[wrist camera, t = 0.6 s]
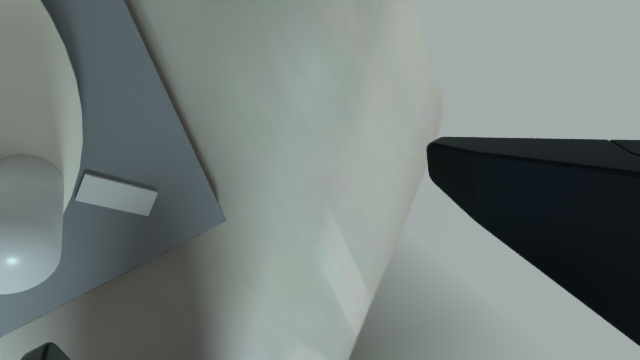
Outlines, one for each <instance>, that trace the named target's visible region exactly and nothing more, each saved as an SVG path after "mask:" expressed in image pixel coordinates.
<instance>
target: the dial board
mask: <svg viewBox="0 0 640 360" xmlns="http://www.w3.org/2000/svg"><path fill="white" fill-rule="evenodd" d="M41 1H42V2H43V4H44V6H45V7H46V9H47V10H48V12H49V13H50V15H51V17H52V19H53V21H54V23H55V26H56V28H57V30H58V32H59V34H60V36H61V38H62V40H63V42H64V44H65V46H66V49H67V52H68V55H69V58H70V61H71V64H72V67H73V70H74V73H75V76H76V80H77V85H78V91H79V96H80V102H81V107H82V131H83V145H82V153H81V161H80V169H79V173H78V176H77V180H76V183H75V186H74V190H73V193H72V196H71V199H70V201H69V203H68V205H67V207H66V209H65V211H64V213H63V227H62V249H61V258H60V262H59V264H58V266H57V268H56V269H55V271H54V272H53V273H52V274H51V275H50V276H49V277H48V278H47V279H46V280H45V281H43V282H42V283H40V284H39V285H37V286H35V287H33V288H31V289H28V290H25V291H22V292H18V293H12V294H0V337H1V336H3V335H5V334H7V333H9V332H11V331H13V330H15V329H17V328H19V327H21V326H23V325H25V324H27V323H28V322H30V321H32V320H34V319H36V318H38V317H40V316H42V315H44V314H46V313H48V312H50V311H52V310H54V309H56V308H57V307H59V306H61V305H63V304H65V303H67V302H69V301H71V300H73V299H75V298H77V297H79V296H81V295H83V294H85V293H86V292H88V291H90V290H92V289H94V288H96V287H98V286H100V285H102V284H104V283H106V282H108V281H110V280H112V279H114V278H115V277H117V276H119V275H121V274H123V273H125V272H127V271H129V270H131V269H133V268H135V267H137V266H139V265H141V264H143V263H144V262H146V261H148V260H150V259H152V258H154V257H156V256H158V255H160V254H162V253H164V252H166V251H168V250H170V249H171V248H173V247H175V246H177V245H179V244H181V243H183V242H185V241H187V240H189V239H191V238H193V237H195V236H197V235H199V234H200V233H202V232H204V231H206V230H208V229H210V228H212V227H214V226H216V225H218V224H220V223H222V222H224V221H226V219H225V217H224V215H223V212H222V210H221V208H220V206H219V204H218V202H217V199H216V197H215V195H214V193H213V191H212V189H211V187H210V184H209V182H208V180H207V178H206V176H205V174H204V171H203V169H202V167H201V165H200V163H199V161H198V159H197V156H196V154H195V152H194V150H193V148H192V146H191V143H190V141H189V139H188V137H187V135H186V133H185V131H184V128H183V126H182V124H181V122H180V120H179V118H178V115H177V113H176V111H175V109H174V107H173V105H172V103H171V100H170V98H169V96H168V94H167V92H166V90H165V87H164V85H163V83H162V81H161V79H160V77H159V75H158V72H157V70H156V68H155V66H154V64H153V62H152V59H151V57H150V55H149V53H148V51H147V49H146V47H145V44H144V42H143V40H142V38H141V36H140V34H139V31H138V29H137V27H136V25H135V23H134V21H133V19H132V16H131V14H130V12H129V10H128V8H127V6H126V3H125V1H124V0H41Z"/></svg>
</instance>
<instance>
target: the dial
mask: <svg viewBox="0 0 640 360" xmlns="http://www.w3.org/2000/svg"><path fill="white" fill-rule="evenodd" d="M82 145H83V131H82V107H81V102H80V96H79V91H78V85H77V80H76V76H75V73H74V70H73V67H72V64H71V61H70V58H69V55H68V52H67V49H66V46H65V44H64V42H63V40H62V38H61V36H60V34H59V32H58V30H57V28H56V26H55V23H54V21H53V19H52V17H51V15H50V13H49V12H48V10H47V9H46V7H45V6H44V4H43V2H42V1H41V0H0V294H12V293H18V292H22V291H25V290H28V289H31V288H33V287H35V286H37V285H39V284H40V283H42V282H43V281H45V280H46V279H47V278H48V277H49V276H50V275H51V274H52V273H53V272H54V271H55V269H56V268H57V266H58V264H59V262H60V258H61V249H62V227H63V213H64V211H65V209H66V207H67V205H68V203H69V201H70V199H71V196H72V193H73V190H74V186H75V183H76V180H77V176H78V173H79V169H80V161H81V153H82Z"/></svg>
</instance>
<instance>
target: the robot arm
mask: <svg viewBox="0 0 640 360" xmlns="http://www.w3.org/2000/svg"><path fill="white" fill-rule="evenodd" d="M427 161H428V171H429V176H430V178H431V179H432V181H433V182H434V183H435V184H436V185H437V186H438V187H439V188H440V189H441V190H442V191H443V192H444V193H445V194H447V195H448V196H449V197H450V198H451V199H452V200H453V201H454V202H455V203H456V204H457V205H458V206H459V207H460V208H461V209H463V210H464V211H465V212H466V213H467V214H468V215H469V216H470V217H471V218H472V219H474V220H475V221H476V222H477V223H478V224H480V225H481V226H482V227H483V228H485V229H486V230H487V231H489V232H490V233H491V234H493V235H494V236H495V237H497V238H498V239H499V240H500V241H502V242H503V243H504V244H506V245H507V246H508V247H510V248H511V249H512V250H514V251H515V252H516V253H518V254H519V255H520V256H522V257H523V258H524V259H525V260H527V261H528V262H529V263H531V264H532V265H534V266H535V267H536V268H537V269H539V270H540V271H541V272H543V273H544V274H545V275H547V276H548V277H549V278H551V279H552V280H553V281H554V282H556V283H557V284H558V285H560V286H561V287H562V288H564V289H565V290H566V291H568V292H569V293H570V294H572V295H573V296H574V297H576V298H577V299H579V300H580V301H581V302H582V303H584V304H585V305H587V307H589V308H590V309H592V310H593V311H594V312H595V313H597V314H598V315H600V316H601V317H602V318H603V319H605V320H606V321H607V322H609V323H610V324H611V325H612V326H614V327H615V328H617V329H618V330H619V331H620V332H622V333H623V334H624V335H626V336H627V337H628V338H630V339H631V340H632V341H634V342H635V343H636V344H637V345H639V346H640V140H610V141H608V140H595V139H594V140H593V139H590V140H589V139H539V138H536V139H534V138H479V137H441V138H438V139H436V140H435V141H433V142H431V143H429V144H428V146H427ZM21 360H70V359H69V358H68V357H67V356H66V355H65V354H64V352H63V351H62V350H61V349H60V348H59V347H58V346H57V345H56V344H54V343H51V342H48V343H45V344H43V345H41V346H39V347H37V348H35V349H34V350H32V351H30V352H28V353H26V354H25V355H24V356H23V357H22V358H21Z"/></svg>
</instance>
